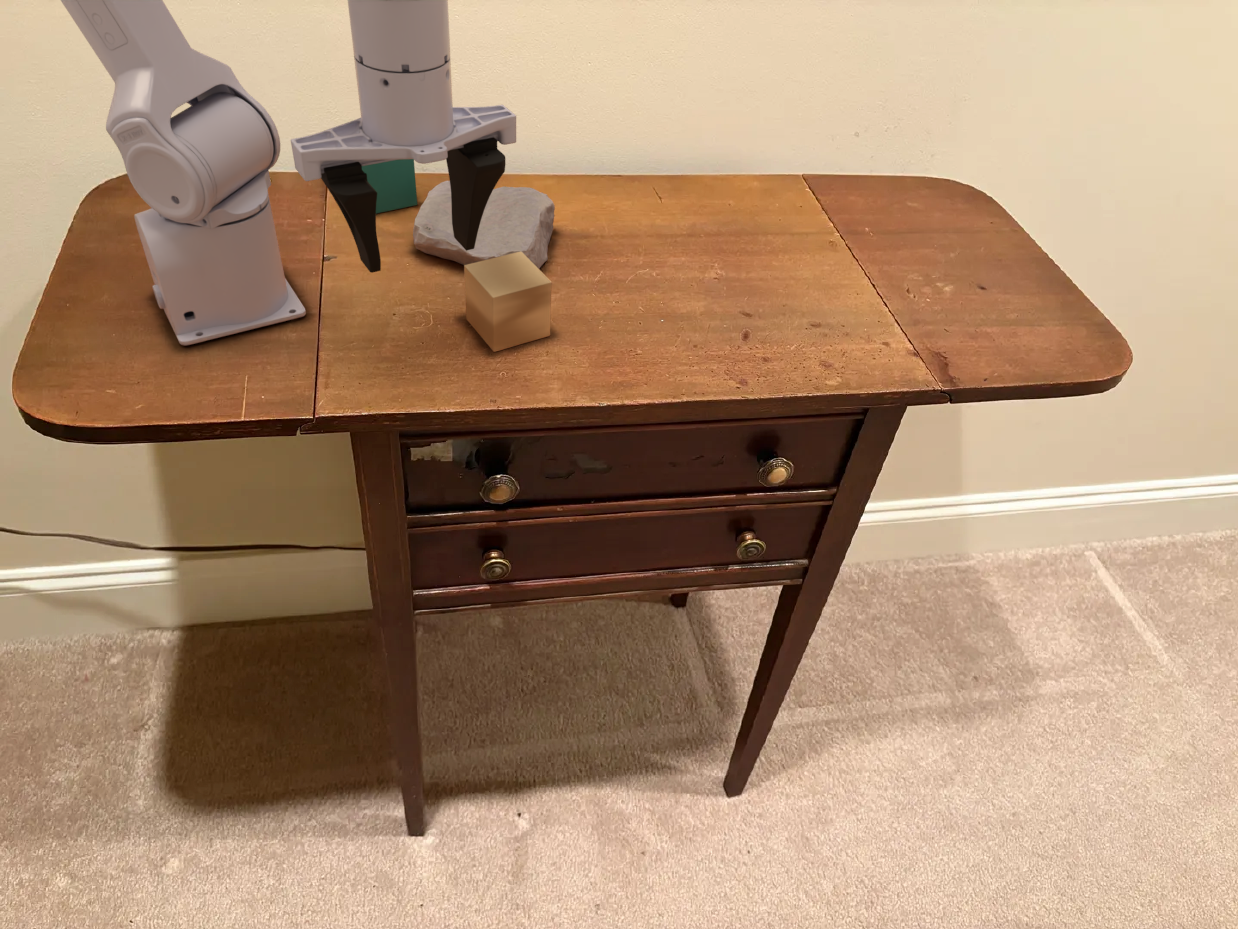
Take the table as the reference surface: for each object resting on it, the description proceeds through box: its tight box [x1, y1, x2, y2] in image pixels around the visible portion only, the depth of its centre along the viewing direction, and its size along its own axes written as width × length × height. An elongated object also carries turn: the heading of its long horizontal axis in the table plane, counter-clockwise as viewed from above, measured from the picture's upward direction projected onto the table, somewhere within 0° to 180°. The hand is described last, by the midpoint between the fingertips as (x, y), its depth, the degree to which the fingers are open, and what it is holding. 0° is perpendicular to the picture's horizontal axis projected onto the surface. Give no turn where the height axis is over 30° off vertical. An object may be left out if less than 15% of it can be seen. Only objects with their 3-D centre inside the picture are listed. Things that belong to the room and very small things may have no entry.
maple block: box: [463, 252, 553, 353], centre depth 72 cm, size 5×5×5 cm
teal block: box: [362, 159, 418, 215], centre depth 86 cm, size 5×5×5 cm
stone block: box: [412, 180, 556, 270], centre depth 82 cm, size 12×5×10 cm
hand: (418, 253), depth 65 cm, fingers open, 6 cm apart
